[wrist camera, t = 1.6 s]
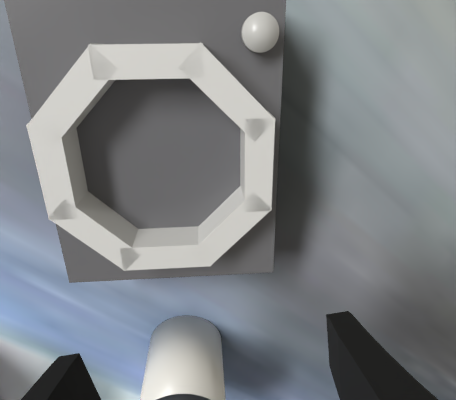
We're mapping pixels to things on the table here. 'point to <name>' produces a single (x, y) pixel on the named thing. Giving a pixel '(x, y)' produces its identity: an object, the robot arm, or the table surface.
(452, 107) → the table surface
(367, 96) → the table surface
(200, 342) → the white lens
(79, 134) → the grey square base
